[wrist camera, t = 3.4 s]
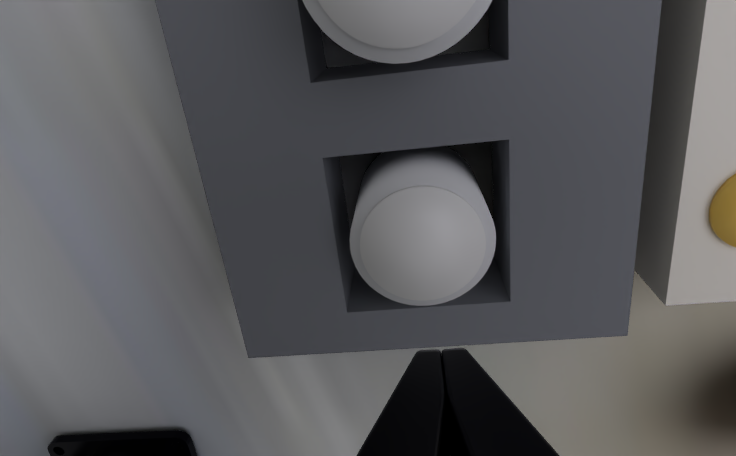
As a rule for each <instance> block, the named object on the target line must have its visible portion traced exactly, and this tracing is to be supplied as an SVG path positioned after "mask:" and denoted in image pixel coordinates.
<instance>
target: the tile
mask: <svg viewBox="0 0 736 456" xmlns="http://www.w3.org/2000/svg"><path fill="white" fill-rule="evenodd" d="M634 270H635V271H636V272H637V273H638V274H639V276H640V277H641V278H642V279H643V280H644V281H645V283H646V284H647V285H648V286H649V287H650V288H651V289H652V291H653V292H654V293H655V294H656V295H657V296H658V298H659V299H660V300H661V301H662V302H663V303H664V304H665V306H668V305H683V304H699V303H714V302H730V301H736V0H662V5H661V14H660V24H659V34H658V44H657V53H656V63H655V73H654V82H653V92H652V102H651V112H650V121H649V131H648V141H647V150H646V160H645V170H644V179H643V189H642V199H641V209H640V218H639V228H638V238H637V247H636V257H635V267H634Z"/></svg>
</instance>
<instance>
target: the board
mask: <svg viewBox="0 0 736 456" xmlns="http://www.w3.org/2000/svg"><path fill="white" fill-rule="evenodd" d="M155 2H156V6H157V9H158V13H159V17H160V21H161V25H162V29H163V32H164V36H165V40H166V44H167V48H168V51H169V55H170V59H171V63H172V67H173V71H174V74H175V78H176V82H177V86H178V90H179V94H180V97H181V101H182V105H183V109H184V113H185V117H186V120H187V124H188V128H189V132H190V136H191V140H192V143H193V147H194V151H195V155H196V159H197V163H198V166H199V170H200V174H201V178H202V182H203V185H204V189H205V193H206V197H207V201H208V205H209V208H210V212H211V216H212V220H213V224H214V228H215V231H216V235H217V239H218V243H219V247H220V251H221V254H222V258H223V262H224V266H225V270H226V274H227V277H228V281H229V285H230V289H231V293H232V296H233V300H234V304H235V308H236V312H237V316H238V319H239V323H240V327H241V331H242V335H243V339H244V342H245V346H246V350H247V354H248V358H256V357H273V356H290V355H307V354H324V353H341V352H358V351H375V350H391V349H408V348H425V347H442V346H459V345H476V344H493V343H510V342H527V341H544V340H561V339H578V338H595V337H611V336H627V335H628V325H629V315H630V306H631V296H632V286H633V277H634V267H635V257H636V247H637V238H638V228H639V218H640V209H641V199H642V189H643V179H644V170H645V160H646V150H647V141H648V131H649V121H650V112H651V102H652V92H653V82H654V73H655V63H656V53H657V44H658V34H659V24H660V14H661V5H662V0H492V2H491V4H490V5H489V42H490V49H489V50H481V51H472V52H464V53H455V54H447V55H438V56H433V57H430V58H427V59H424V60H421V61H416V62H410V63H399V64H391V63H380V62H379V63H370V64H362V65H353V66H345V67H336V68H328V69H326V64H325V57H324V50H323V43H322V36H321V29H320V27H319V26H318V25H317V23H316V22H315V21H314V20H313V18H312V17H311V15H310V13H309V12H308V10H307V9H306V7H305V5H304V3H303V1H302V0H155ZM488 141H492V181H493V222H494V226H495V231H496V247H495V252H494V256H493V259H492V262H491V264H490V266H489V268H488V270H487V272H486V273H485V275H484V276H483V277H482V279H481V280H480V281H479V282H478V283H477V284H476V285H475V286H474V287H473V288H471V289H470V290H469V291H468V292H466V293H464V294H463V295H461V296H459V297H457V298H455V299H453V300H450V301H448V302H445V303H441V304H436V305H428V306H416V305H408V304H403V303H399V302H396V301H393V300H391V299H389V298H387V297H384V296H383V295H381V294H380V293H378V292H376V291H375V290H374V289H373V288H372V287H370V286H369V285H368V284H367V283H366V282H365V280H364V279H363V278H362V277H361V275H360V274H359V272H358V270H357V268H356V267H355V264H354V262H353V259H352V255H351V251H350V229H349V222H348V215H347V208H346V201H345V195H344V188H343V181H342V174H341V167H340V160H339V156H347V155H357V154H367V153H377V152H387V151H397V150H408V149H418V148H428V147H438V146H448V145H458V144H468V143H478V142H488Z"/></svg>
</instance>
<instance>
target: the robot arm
mask: <svg viewBox="0 0 736 456" xmlns="http://www.w3.org/2000/svg"><path fill="white" fill-rule="evenodd" d="M441 355H442V356H441ZM48 452H49V454H50V456H197V453H196V450H195V447H194V444H193V442H192V439H191V437H190V435H189V434H187V433H186V432H184V431H179V430H174V431H151V432H129V433H106V434H84V435H62V436H57V437H55V438H54V439H53V440H52V442H51V443H50V444H49V446H48ZM357 456H559V455H558V453H557V452H556V451H555V450H554V449H553V448H552V447H551V445H550V444H549V443H548V442H547V441H546V440H545V439H544V437H543V436H542V435H541V434H540V433H539V432H538V431H537V430H536V428H535V427H534V426H533V425H532V424H531V423H530V422H529V420H528V419H527V418H526V417H525V416H524V415H523V414H522V412H521V411H520V410H519V409H518V408H517V407H516V406H515V405H514V403H513V402H512V401H511V400H510V399H509V398H508V397H507V395H506V394H505V393H504V392H503V391H502V390H501V389H500V387H499V386H498V385H497V384H496V383H495V382H494V381H493V380H492V378H491V377H490V376H489V375H488V374H487V373H486V372H485V370H484V369H483V368H482V367H481V366H480V365H479V364H478V363H477V361H476V360H475V359H474V358H473V357H472V356H471V355H470V353H469V352H468V351H467V350H466V349H464V348H454V349H444V350H442V353H441V352H440V351H439V350H420V351H418V352H416V354H415V356H414V357H413V359H412V361H411V362H410V364H409V366H408V368H407V369H406V371H405V373H404V375H403V376H402V378H401V380H400V381H399V383H398V385H397V387H396V388H395V390H394V392H393V394H392V395H391V397H390V399H389V400H388V402H387V404H386V406H385V407H384V409H383V411H382V413H381V414H380V416H379V418H378V420H377V421H376V423H375V425H374V426H373V428H372V430H371V432H370V433H369V435H368V437H367V439H366V440H365V442H364V444H363V445H362V447H361V449H360V451H359V452H358V454H357Z"/></svg>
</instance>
